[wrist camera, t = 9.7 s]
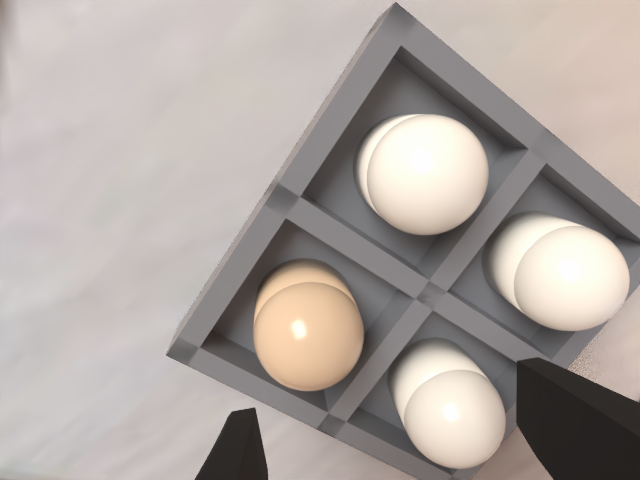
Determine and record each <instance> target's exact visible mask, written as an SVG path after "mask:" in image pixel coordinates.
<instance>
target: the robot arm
mask: <svg viewBox="0 0 640 480" xmlns="http://www.w3.org/2000/svg"><path fill="white" fill-rule="evenodd" d="M516 423H517V425H518V427H519V428H520V430H521V432H522V434H523V435H524V437H525V439H526V440H527V442H528V444H529V445H530V447H531V449H532V450H533V452H534V453H535V455H536V457H537V458H538V459H539V461H540V462H541V463H542V465H543V466H544V467H545V469H546V470H547V471H548V473H549V474H550V475H551V477H552V478H553V479H554V480H640V403H638V402H636V401H634V400H632V399H629V398H627V397H625V396H623V395H620V394H618V393H616V392H614V391H612V390H609V389H607V388H605V387H603V386H601V385H599V384H597V383H594V382H592V381H590V380H588V379H586V378H584V377H582V376H580V375H577V374H575V373H573V372H571V371H569V370H567V369H565V368H563V367H560V366H558V365H556V364H554V363H551V362H549V361H547V360H544V359H542V358H539V357H535V358H530V359H524V360H519V361H517V393H516ZM195 480H268V469H267V464H266V459H265V454H264V449H263V444H262V439H261V434H260V429H259V424H258V419H257V414H256V409H255V408H249V409H244V410H238V411H233V412H231V414H230V415H229V416H228V418H227V420H226V422H225V425H224V427H223V429H222V431H221V433H220V435H219V437H218V439H217V441H216V442H215V444H214V446H213V448H212V450H211V452H210V454H209V455H208V457H207V459H206V461H205V463H204V464H203V466H202V468H201V470H200V471H199V473H198V475H197V477H196V478H195Z"/></svg>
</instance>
